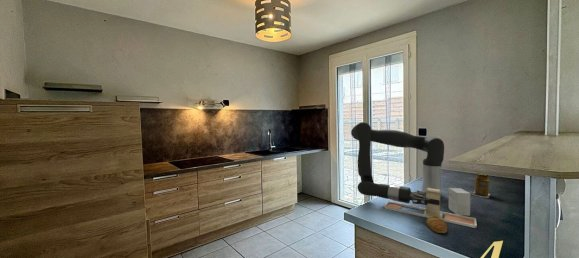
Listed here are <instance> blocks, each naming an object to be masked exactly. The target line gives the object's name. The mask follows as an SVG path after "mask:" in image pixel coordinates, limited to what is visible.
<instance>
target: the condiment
mask: <svg viewBox="0 0 579 258" xmlns="http://www.w3.org/2000/svg"><path fill="white" fill-rule="evenodd" d="M474 182H475V183H474V191H473V193H472V194H471V195H472V196H477V197H481V198H486V199H489V198H490V196H491V193H489V190H490V180H489V175H488V174H487V173H481V172H479V173H476V174H475V179H474Z"/></svg>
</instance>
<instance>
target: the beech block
mask: <svg viewBox="0 0 579 258" xmlns="http://www.w3.org/2000/svg"><path fill="white" fill-rule="evenodd" d="M440 197H441V196H440V190H438V189H432V188H427V190H426V198H429V199H435V200H439V201H440ZM440 202H441V201H440ZM425 208H426V214H427V215H431V216H437V217H439V215H440V211H441V204H440V205H434V204H427V205H425Z"/></svg>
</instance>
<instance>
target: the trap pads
mask: <svg viewBox="0 0 579 258" xmlns="http://www.w3.org/2000/svg"><path fill="white" fill-rule="evenodd" d="M387 207H392V208H397V209H401V210H402V207H403V206H400V205H395V204H390V203H389V204H388V205H387ZM444 219H449V220H453V221H458V222H463V223H468V224H472V225H475V224H474V220H469V219H464V218H460V217H455V216H450V215H444Z"/></svg>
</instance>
